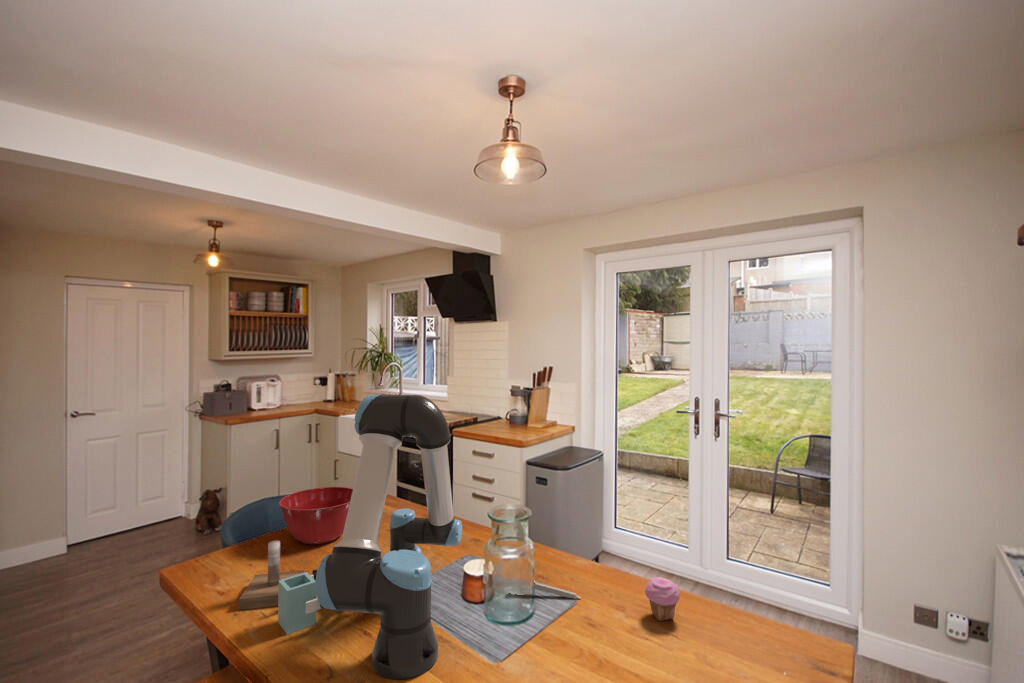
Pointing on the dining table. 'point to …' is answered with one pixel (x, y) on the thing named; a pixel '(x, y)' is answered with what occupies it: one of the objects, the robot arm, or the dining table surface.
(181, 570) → the dining table surface
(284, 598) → the collar
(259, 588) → the wooden peg stand
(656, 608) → the cupcake
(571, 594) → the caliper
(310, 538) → the mixing bowl
